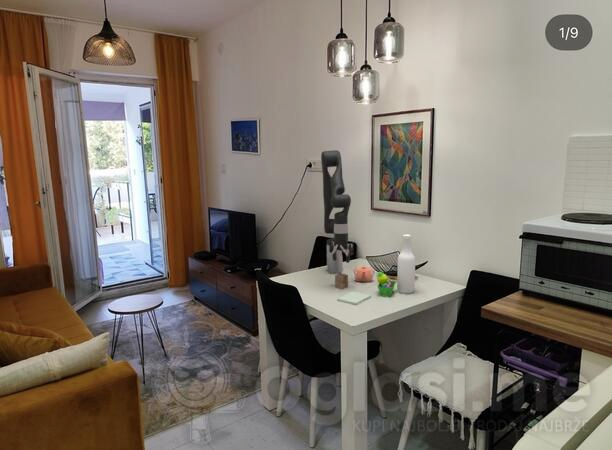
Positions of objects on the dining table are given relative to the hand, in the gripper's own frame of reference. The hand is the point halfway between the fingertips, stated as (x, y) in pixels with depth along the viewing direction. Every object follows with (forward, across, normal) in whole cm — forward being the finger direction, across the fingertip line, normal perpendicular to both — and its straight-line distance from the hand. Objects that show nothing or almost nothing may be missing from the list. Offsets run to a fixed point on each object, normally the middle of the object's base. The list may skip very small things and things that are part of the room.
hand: (341, 261), depth 221 cm
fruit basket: (+15, -24, -5) cm, 29 cm away
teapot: (+15, -3, -18) cm, 24 cm away
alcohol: (+15, -31, -14) cm, 37 cm away
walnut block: (+14, 0, 0) cm, 15 cm away
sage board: (+15, -16, +12) cm, 25 cm away
